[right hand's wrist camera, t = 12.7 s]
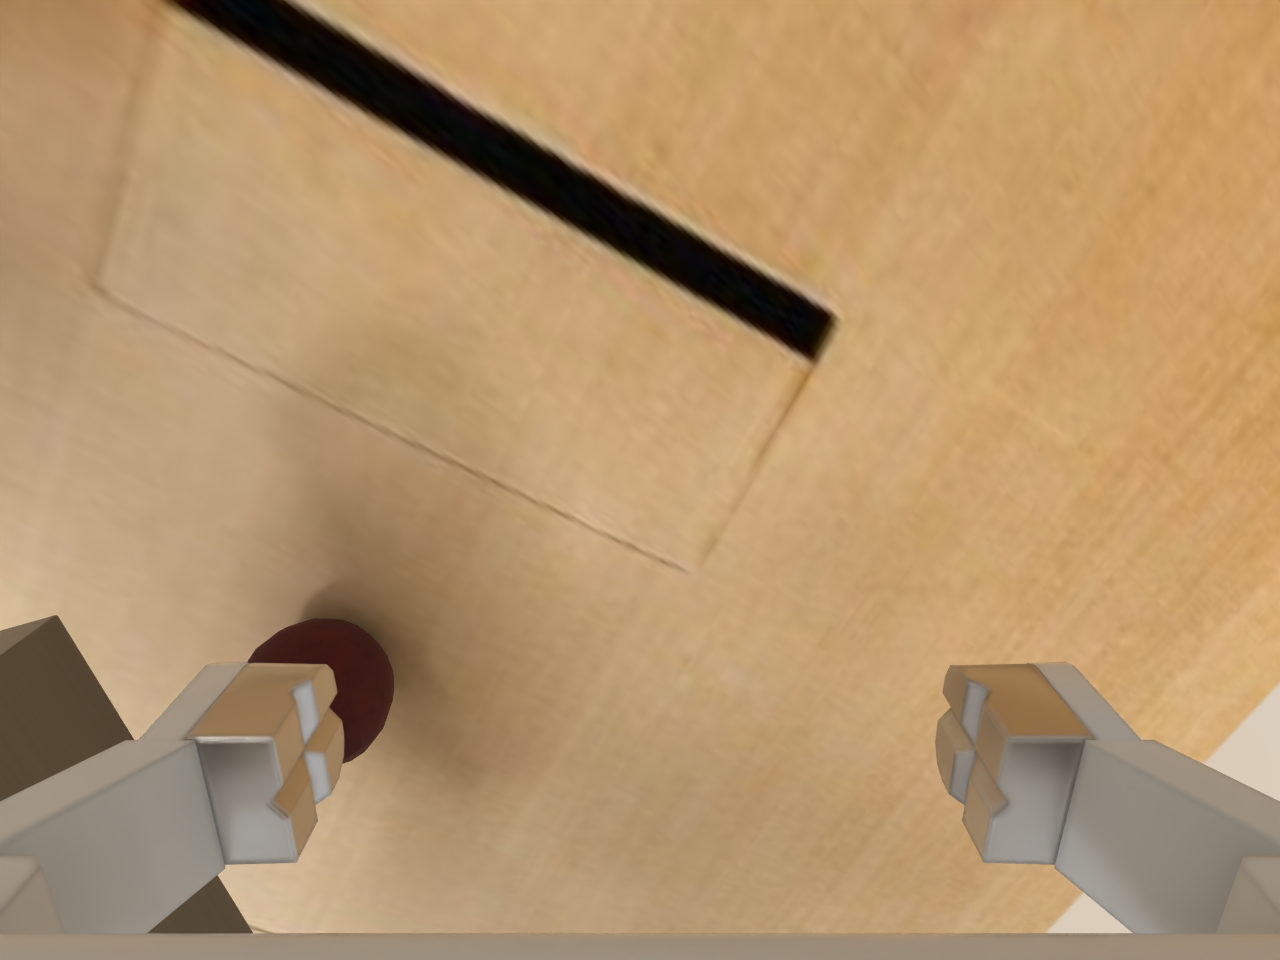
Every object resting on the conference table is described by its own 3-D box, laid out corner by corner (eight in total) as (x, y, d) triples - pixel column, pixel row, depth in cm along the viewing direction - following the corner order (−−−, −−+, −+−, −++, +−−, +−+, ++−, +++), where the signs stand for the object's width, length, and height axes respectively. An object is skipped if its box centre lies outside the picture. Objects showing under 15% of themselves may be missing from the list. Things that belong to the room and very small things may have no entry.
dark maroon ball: (416, 708, 45) (378, 798, 39) (281, 710, 45) (220, 801, 39) (400, 594, 43) (357, 670, 36) (256, 597, 43) (187, 673, 36)
